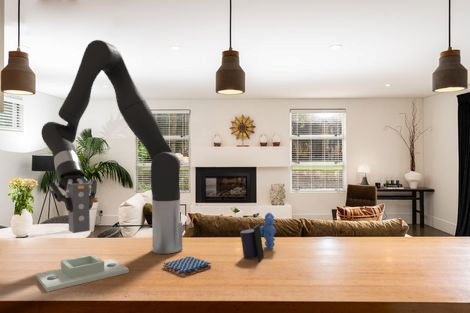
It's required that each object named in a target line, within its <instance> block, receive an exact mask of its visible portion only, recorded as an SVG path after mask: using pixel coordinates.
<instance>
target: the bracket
mask: <svg viewBox="0 0 470 313" xmlns="http://www.w3.org/2000/svg"><path fill="white" fill-rule="evenodd" d="M129 271H130V270H129V268H128V267H126V266H125V265H123V264H122V263H120V262H118V261H117V260H115V259H114V258H109V259H105V260H103V259H102V258H101V259H100V258H99V257H98V256H96V255H95V254H89V255H83V256H79V257H74V258H67V259H63V260H60V269H56V270H50V271H46V272H41V273H40V272H39V273H36V279H37V280H38V282H39V283H40V285H41V286H42V287H43V289H44V290H45V292H46V293H48V292H51V291H57V290H61V289H66V288H69V287H74V286H78V285H81V284H86V283H90V282H94V281H99V280H103V279H107V278H111V277H115V276H119V275H120V276H121V275H123V274H127V273H130V272H129Z"/></svg>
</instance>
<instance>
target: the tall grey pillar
mask: <svg viewBox="0 0 470 313" xmlns="http://www.w3.org/2000/svg"><path fill="white" fill-rule="evenodd" d="M68 188H69V194H70V197H69V198H71V201H72V205H73V211H72V212H69V211H67V212H68V231H69V232H71V233H73V234H75V233H76V234H77V233H83V232H84V233H85V232H90V231H91V229H90V228H91V227H90V226H91V224H90V223H91V221H90V210H89V192H90V187H89V184H87V183H76V184H68Z"/></svg>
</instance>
